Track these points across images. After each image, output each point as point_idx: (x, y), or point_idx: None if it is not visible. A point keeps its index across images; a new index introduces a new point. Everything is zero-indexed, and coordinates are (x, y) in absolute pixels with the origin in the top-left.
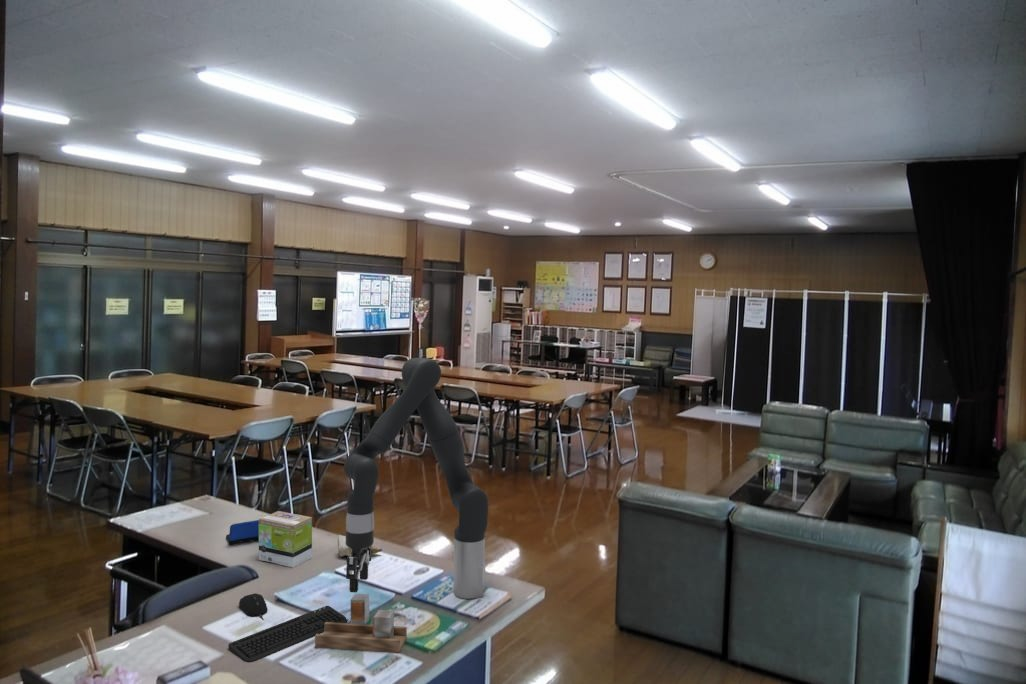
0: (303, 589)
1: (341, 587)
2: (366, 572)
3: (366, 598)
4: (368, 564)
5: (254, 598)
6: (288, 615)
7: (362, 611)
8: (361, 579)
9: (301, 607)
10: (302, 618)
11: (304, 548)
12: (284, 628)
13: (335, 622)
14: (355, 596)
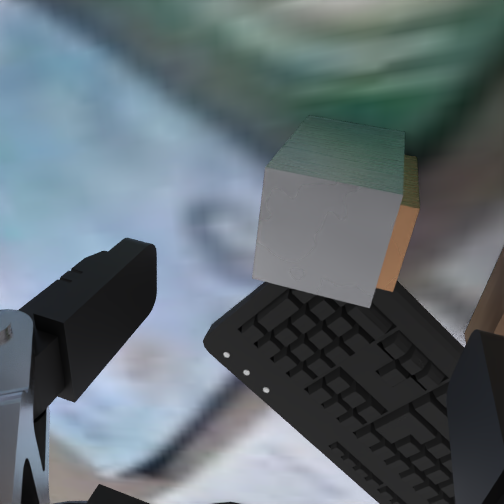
0: (59, 406)
1: (2, 285)
2: (110, 289)
3: (350, 183)
4: (14, 326)
5: None
6: (267, 454)
7: (414, 180)
8: (155, 289)
9: (198, 415)
10: (330, 431)
11: None
12: (429, 493)
13: (496, 330)
14: (307, 275)
